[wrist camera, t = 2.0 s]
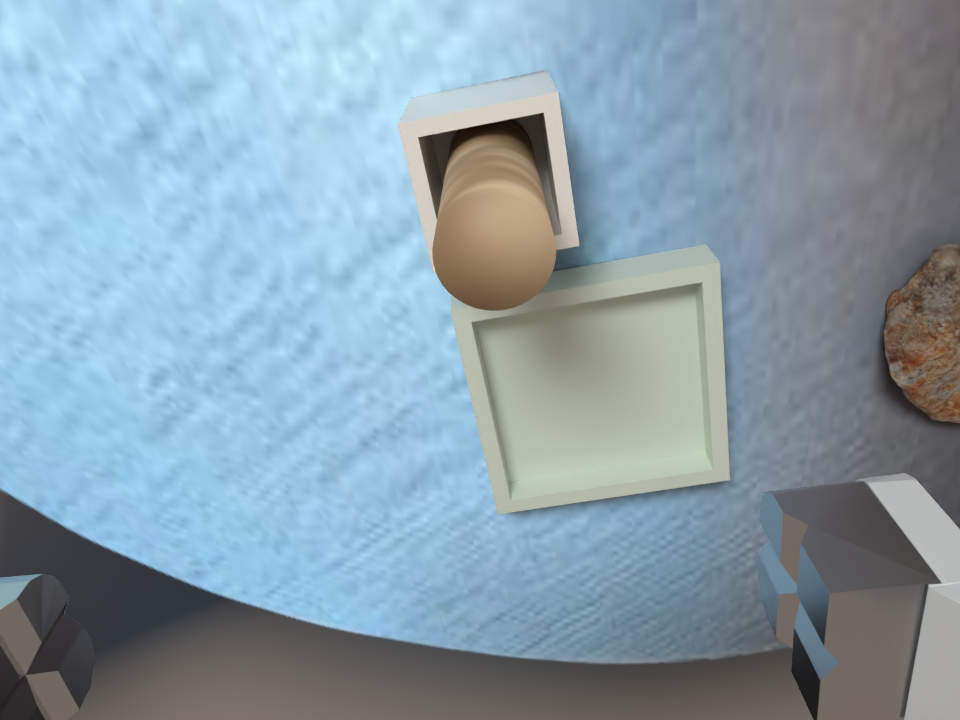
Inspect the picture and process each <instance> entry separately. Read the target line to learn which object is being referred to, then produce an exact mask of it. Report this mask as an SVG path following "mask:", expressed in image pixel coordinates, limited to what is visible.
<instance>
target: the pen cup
mask: <svg viewBox="0 0 960 720" xmlns="http://www.w3.org/2000/svg"><path fill="white" fill-rule="evenodd" d="M508 119H514V120H516V121H517V122H518V123H519V124H520V125H521V126H522V127H523V128H524V129H525V131H526V132H527V134H528V136H529V138H530V140H531V143H532V147H533V152H534V156H535V160H536V164H537V168H538V172H539V176H540V180H541V184H542V189H543V193H544V197H545V201H546V205H547V209H548V213H549V217H550V221H551V225H552V230H553V234H554V238H555V242H556V250H560V249H566V248H571V247H577V246H579V239H578V232H577V224H576V217H575V210H574V203H573V195H572V188H571V181H570V174H569V166H568V159H567V152H566V145H565V137H564V130H563V123H562V116H561V108H560V101H559V94H558V90H557V89H556V87H555V85H554V83H553V81H552V79H551V77H550V75H549V73H548V71H547V70H545V71H540V72H535V73H530V74H525V75H520V76H515V77H510V78H505V79H500V80H496V81H491V82H486V83H481V84H476V85H471V86H466V87H461V88H456V89H451V90H446V91H441V92H436V93H431V94H427V95H422V96H417V97H412V98H411V99H410V101H409V103H408V105H407V107H406V109H405V111H404V113H403V115H402V117H401V119H400V121H399V123H398V127H399V131H400V135H401V139H402V143H403V148H404V152H405V156H406V160H407V164H408V169H409V173H410V177H411V181H412V185H413V190H414V194H415V198H416V202H417V206H418V211H419V215H420V219H421V223H422V227H423V232H424V236H425V240H426V244H427V248H428V253H429V257H430V261H431V265H432V269H433V272H436V271H435V268H434V264H433V257H432V248H433V241H434V235H435V229H436V224H437V218H438V212H439V207H440V201H441V195H442V190H443V184H444V178H445V173H446V167H447V161H448V156H449V150H450V145H451V141H452V139H453V137H454V135H455V133H456V131H457V130H458V129H463V128H468V127H473V126H478V125H483V124H488V123H493V122H498V121H503V120H508Z"/></svg>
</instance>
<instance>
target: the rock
mask: <svg viewBox="0 0 960 720" xmlns="http://www.w3.org/2000/svg"><path fill="white" fill-rule="evenodd" d="M886 313H887V320H886V325H885V329H884V343H885V356H886V359H887V361H888V364H889V371H890V375H891V377H892V379H893V380H894V381H895V382H896V384H897V385H898V386H899V387H901V388H902V391H903V393H904V395H905V397H906V398H907V399H908V401H910V402H911V403H912V404H914V405H915V406H916V407H917V408H919V409H920V410H922V411H923V412H924V413H926V414H927V415H928V416H929V417H930V418H931V419H932V420H936V421H948V422H953V423H960V245H958V244H956V245H950V244H947V245H944V246H941V247H939V248H937V249H934V250H933V251H932V253H931V255H930V257H929V260H928V262H927V263H926V264H925V265H924V266H922V267H921V268H920V269H919V270H918V271H917V272H916V273H915V275H914V276H913V277H912V278H911V280H910V281H909V283H908V284H907V285H905V286H904V287H903V288H900V289H898V290H895V291H893V292H892V293H891V295H890V296H889V298H888V301H887V311H886Z"/></svg>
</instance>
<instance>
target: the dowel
mask: <svg viewBox="0 0 960 720" xmlns="http://www.w3.org/2000/svg"><path fill="white" fill-rule="evenodd" d="M432 257H433V264H434V268H435V271H436V274H437V276H438V278H439V280H440V281H441V283H442V285H443V286H444V287H445V288H446V290H447V291H448V292H449V293H450V294H451V295H452V296H453V297H455V298H456V299H458V300H459V301H461V302H462V303H464V304H466V305H468V306H471V307H474V308H477V309H481V310H489V311H499V310H506V309H511V308H514V307H517V306H520V305H522V304H524V303H526V302H527V301H529V300H530V299H532V298H533V297H534V296H536V295H537V294H538V293H539V292H540V291H541V290H542V289H543V287H544V286H545V285H546V283H547V282H548V280H549V278H550V276H551V274H552V272H553V269H554V266H555V261H556V242H555V238H554V234H553V230H552V225H551V221H550V217H549V213H548V209H547V205H546V201H545V197H544V193H543V189H542V184H541V180H540V176H539V172H538V168H537V164H536V160H535V156H534V152H533V147H532V143H531V140H530V138H529V136H528V134H527V132H526V131H525V129H524V128H523V127H522V126H521V125H520V124H519V123H518V122H517V121H516V120H514V119H508V120H503V121H498V122H493V123H488V124H483V125H478V126H473V127H468V128H463V129H458V130H457V131H456V133H455V135H454V137H453V139H452V141H451V145H450V150H449V156H448V161H447V167H446V173H445V178H444V184H443V190H442V195H441V201H440V207H439V212H438V218H437V224H436V229H435V235H434V241H433V248H432Z"/></svg>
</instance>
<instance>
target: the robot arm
mask: <svg viewBox="0 0 960 720" xmlns="http://www.w3.org/2000/svg"><path fill="white" fill-rule="evenodd" d="M759 521H760V523H761V525H762V527H763V529H764V531H765V533H766V535H767V537H768V539H769V540H768V541H767V542H766V544H765V545H764V546H763V547H762V548H761V549H760V551H759V552H758V578H759V585H760V591H761V597H762V602H763V605H764V608H765V611H766V614H767V618H768V620H769V622H770V625H771V627H772V629H773V632H774V634H775V636H776V638H778V639H779V640H781V641H782V642H783V643H785V644H786V645H788V646H789V647H791V648H793V652H792V668H791V672H792V674H793V676H794V678H795V680H796V682H797V685H798V687H799V689H800V691H801V693H802V695H803V698H804V700H805V702H806V704H807V706H808V709H809V711H810V713H811V715H812V717H813V719H814V720H960V529H959V528H958V527H957V525H956V524H955V523H954V522H953V521H952V520H951V519H950V518H949V516H948V515H947V514H946V513H945V512H944V511H943V510H942V508H941V507H940V506H939V505H938V504H937V503H936V502H935V501H934V499H933V498H932V497H931V496H930V495H929V494H928V493H927V491H926V490H925V489H924V488H923V487H922V486H921V485H920V483H919V482H918V481H917V480H916V479H915V478H914V477H912V476H910V475H907V474H905V473H901V474H894V475H887V476H879V477H872V478H865V479H858V480H857V481H851V482H843V483H834V484H826V485H818V486H809V487H801V488H793V489H784V490H776V491H768V492H764V493H763V496H762V499H761V502H760V518H759ZM68 600H69V597H68V596H67V594H66V592H65V591H64V589H63V587H62V586H61V584H60V582H59V581H58V579H57V578H56V577H52V576H48V575H44V574H38V575H27V576H17V577H6V578H0V720H68V719H69V718H70V717H71V716H72V715H73V714H74V713H76V712H77V711H78V710H79V709H80V707H81V705H82V703H83V701H84V699H85V697H86V695H87V693H88V691H89V689H90V687H91V681H92V675H93V669H94V663H95V660H94V654H93V647H92V642H91V640H90V638H89V636H88V634H87V632H86V630H85V628H84V626H82V625H81V624H79V623H78V622H76V621H75V620H73V619H71V618H70V617H68V616H67V615H65V614H64V612H65V609H66V606H67V603H68Z"/></svg>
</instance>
